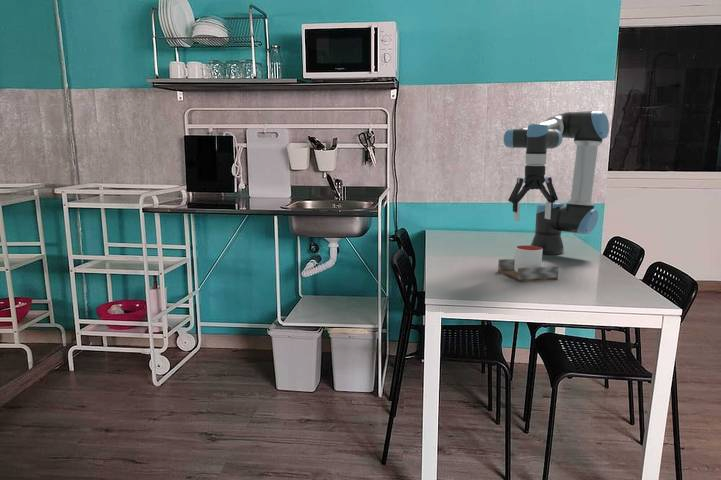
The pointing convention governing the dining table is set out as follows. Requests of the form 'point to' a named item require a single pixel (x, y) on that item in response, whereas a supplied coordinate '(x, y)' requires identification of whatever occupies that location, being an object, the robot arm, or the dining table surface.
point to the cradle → (527, 272)
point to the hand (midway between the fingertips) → (532, 219)
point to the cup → (527, 257)
